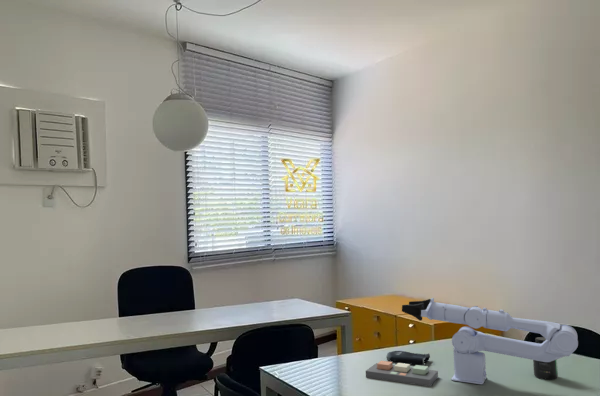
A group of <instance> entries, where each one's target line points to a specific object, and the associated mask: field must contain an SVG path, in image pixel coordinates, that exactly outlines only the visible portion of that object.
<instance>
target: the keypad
mask: <svg viewBox="0 0 600 396" xmlns="http://www.w3.org/2000/svg"><path fill="white" fill-rule="evenodd" d="M377 363H378V362H376V363H374V364H373V365H372V366H370V367H369V368H367V369H366V370H365V378H369V379H376V380H383V381H391V382H396V383H397V382H398V383H404V384H411V385H416V384H418V386H423V385H424V386H423V387H431V386H432V385H433V384H434V382H435V381H437V379H438V378H439V371H438V370H434V369H428V373H427V374H426V375H421V374H414V373H413V367H411V366H410V370H409V371H408V372H407V373H406V372H399V371H395V368H394V366H395V365H396V364H395V365H394V364H393V367H392V368H391V369H390V370H384V369H377Z"/></svg>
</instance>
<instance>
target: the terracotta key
mask: <svg viewBox="0 0 600 396" xmlns="http://www.w3.org/2000/svg"><path fill="white" fill-rule="evenodd" d="M376 363H377V369H384V370H390V369H391V368H392V367H393V365H394V364H393V363H394V362H391V361H389V360H387V361H386V360H380V361H379V362H376Z"/></svg>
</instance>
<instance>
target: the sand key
mask: <svg viewBox="0 0 600 396" xmlns="http://www.w3.org/2000/svg"><path fill="white" fill-rule="evenodd" d="M410 367H411V364H404V363H396V364H395V366H394V368H395V371H399V372H406V373H407V372H408V371H409V370H410Z"/></svg>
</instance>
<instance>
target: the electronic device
mask: <svg viewBox="0 0 600 396" xmlns="http://www.w3.org/2000/svg"><path fill="white" fill-rule="evenodd" d="M430 358H431V354H430V352H429V353H424V354H423V353H414V352H410V351H403V350H393V351H389V352H387V354H386V360H387V361H388V362H393V363H396V364H397V363H405V364H410V365H413V364H415V365H414V366H416V365H420V366H425V365H424V362H425V361H424V360H430Z"/></svg>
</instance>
